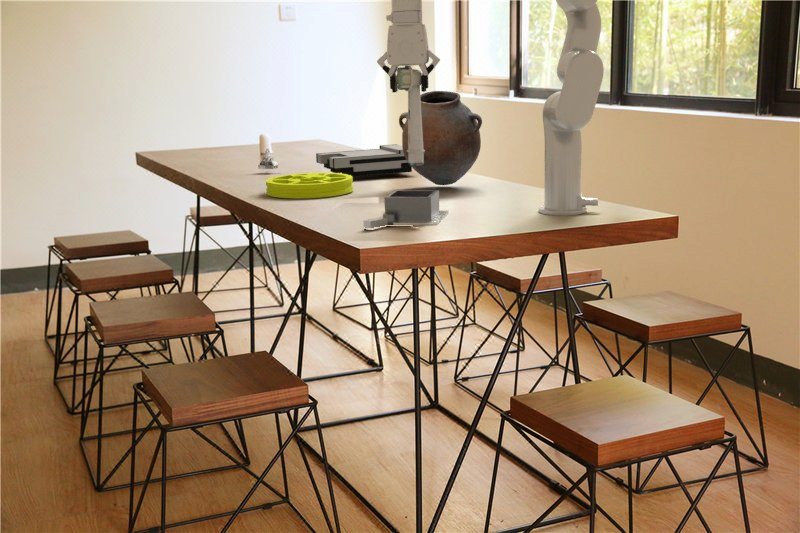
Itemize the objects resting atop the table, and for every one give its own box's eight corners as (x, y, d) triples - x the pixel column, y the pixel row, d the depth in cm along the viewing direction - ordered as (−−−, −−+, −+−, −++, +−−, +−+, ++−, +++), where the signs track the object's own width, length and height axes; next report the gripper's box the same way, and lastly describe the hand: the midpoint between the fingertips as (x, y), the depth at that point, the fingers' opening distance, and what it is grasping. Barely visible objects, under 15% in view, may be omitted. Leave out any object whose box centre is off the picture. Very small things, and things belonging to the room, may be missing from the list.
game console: (317, 172, 351) (315, 150, 349) (396, 165, 363) (396, 144, 361) (334, 178, 332) (333, 155, 331) (418, 171, 344) (417, 149, 342)
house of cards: (289, 166, 371) (288, 146, 369) (276, 169, 364) (275, 149, 362) (270, 165, 375) (269, 146, 374) (257, 168, 368) (256, 148, 366)
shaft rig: (452, 210, 260) (451, 185, 259) (433, 231, 232) (432, 203, 230) (389, 210, 264) (388, 185, 262) (362, 230, 236) (361, 203, 234)
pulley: (344, 183, 322) (343, 168, 321) (360, 194, 296) (360, 178, 294) (262, 188, 316) (261, 173, 314) (271, 200, 289) (270, 184, 288)
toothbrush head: (428, 164, 243) (427, 65, 238) (404, 166, 241) (403, 66, 235) (418, 162, 248) (418, 65, 242) (395, 164, 245) (394, 65, 239)
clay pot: (402, 192, 295) (399, 94, 288) (400, 181, 319) (397, 90, 312) (485, 189, 295) (484, 91, 288) (477, 178, 320) (475, 88, 313)
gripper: (369, 20, 234) (372, 93, 238) (439, 17, 231) (440, 91, 235) (376, 20, 241) (379, 91, 246) (444, 18, 238) (445, 90, 242)
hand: (409, 91), depth 240 cm, fingers closed on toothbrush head, 6 cm apart
